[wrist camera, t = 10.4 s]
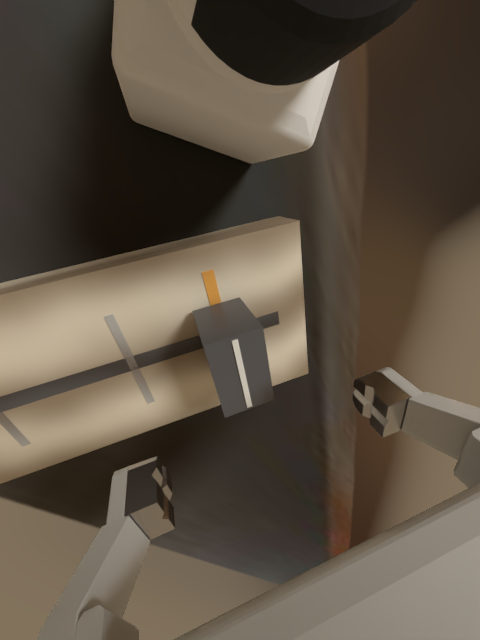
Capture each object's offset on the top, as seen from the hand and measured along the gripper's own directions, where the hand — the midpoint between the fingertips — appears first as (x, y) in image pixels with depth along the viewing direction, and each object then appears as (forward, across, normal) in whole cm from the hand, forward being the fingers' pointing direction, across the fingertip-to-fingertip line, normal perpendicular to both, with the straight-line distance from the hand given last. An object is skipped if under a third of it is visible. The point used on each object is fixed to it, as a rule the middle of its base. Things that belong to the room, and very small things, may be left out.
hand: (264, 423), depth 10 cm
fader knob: (+8, 0, +1) cm, 8 cm away
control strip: (+11, +6, +1) cm, 12 cm away
